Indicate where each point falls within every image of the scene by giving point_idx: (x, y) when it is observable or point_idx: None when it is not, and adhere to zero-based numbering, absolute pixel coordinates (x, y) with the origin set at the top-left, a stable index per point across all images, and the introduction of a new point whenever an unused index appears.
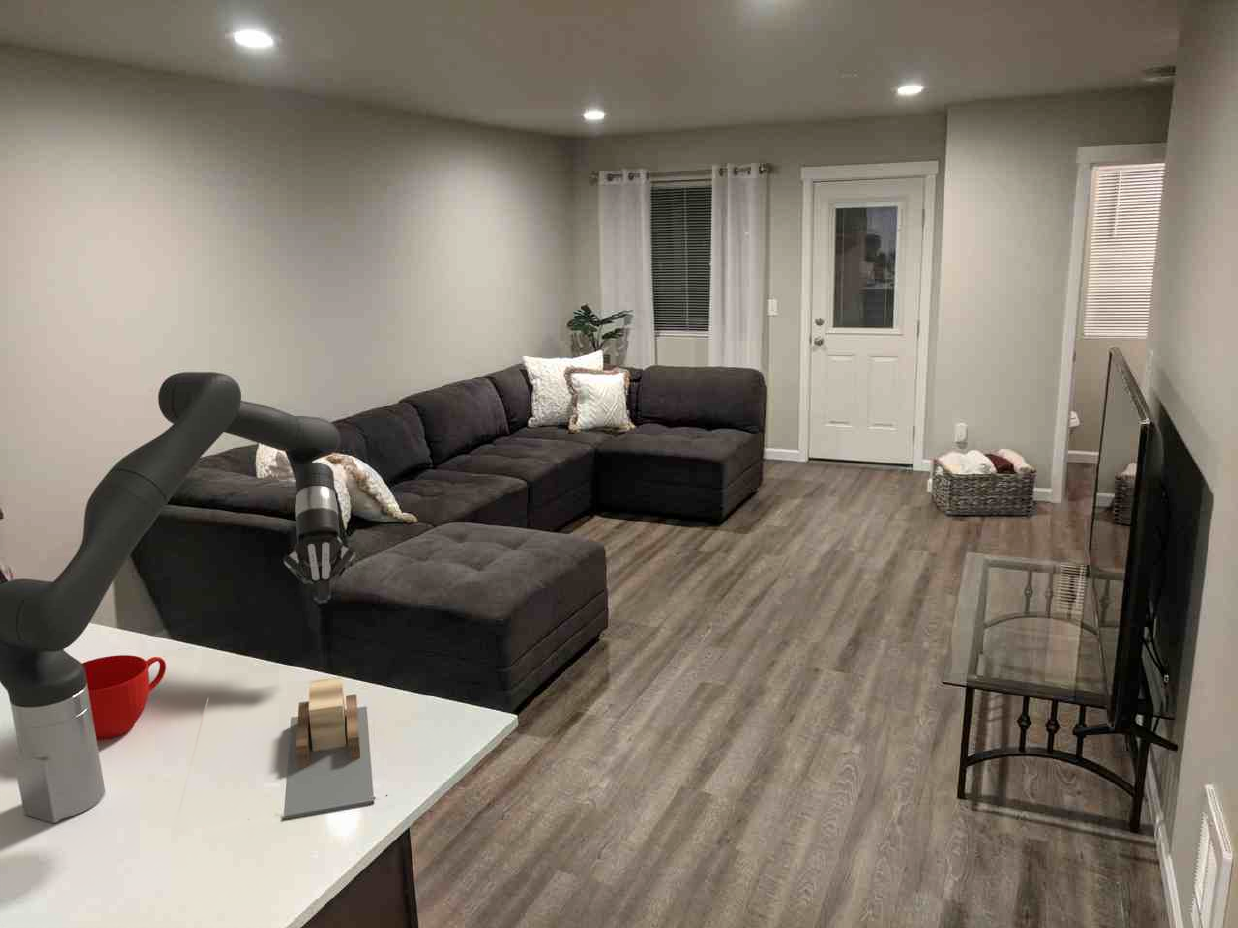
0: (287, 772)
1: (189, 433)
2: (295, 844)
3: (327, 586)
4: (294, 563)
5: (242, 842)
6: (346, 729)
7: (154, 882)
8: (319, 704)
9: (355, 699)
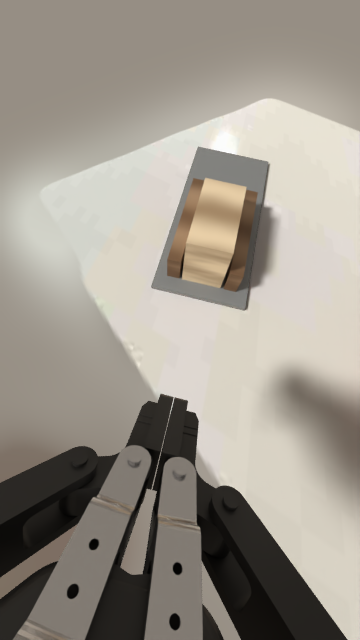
0: (260, 210)
1: None
2: (261, 140)
3: (141, 429)
4: (304, 623)
5: (298, 157)
6: None
7: (354, 151)
8: (231, 193)
9: (172, 247)
